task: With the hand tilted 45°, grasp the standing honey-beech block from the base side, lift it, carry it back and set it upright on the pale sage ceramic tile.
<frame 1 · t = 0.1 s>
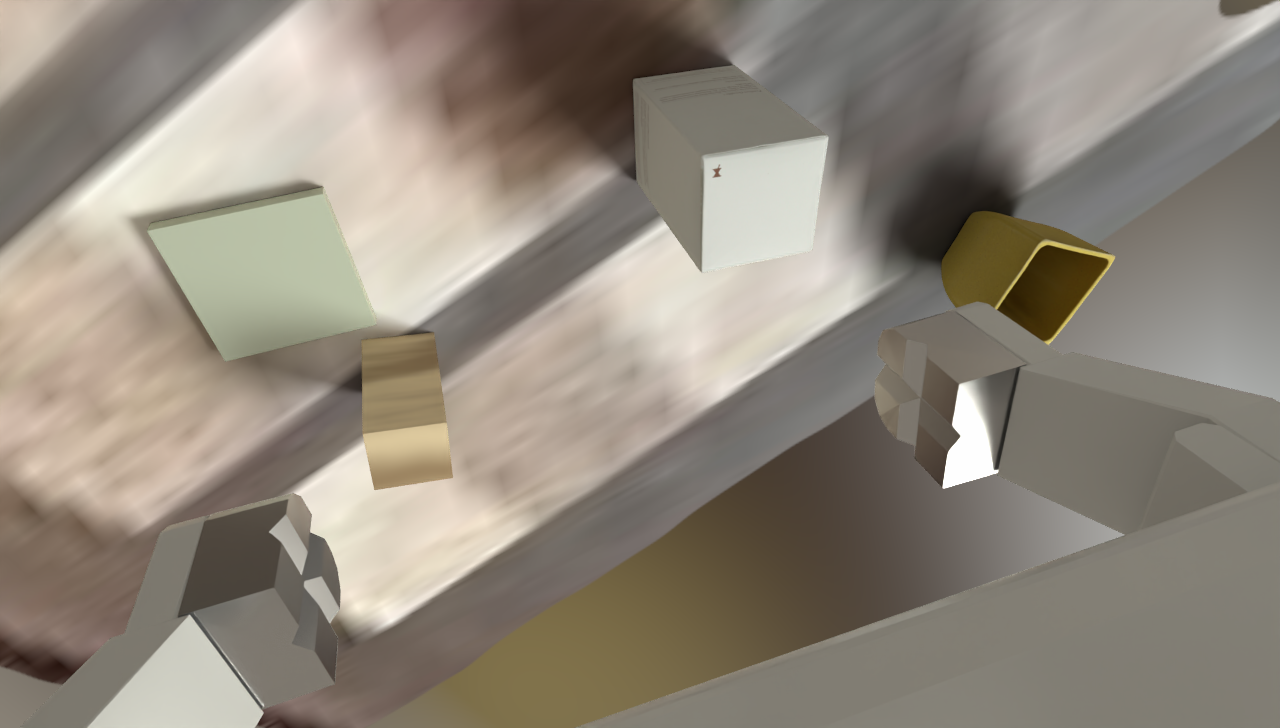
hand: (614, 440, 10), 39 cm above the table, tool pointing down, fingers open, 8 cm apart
beech block: (402, 363, 55), on the table
tile: (272, 274, 48), on the table
supplement box: (683, 124, 50), on the table
flower pot: (973, 241, 64), on the table
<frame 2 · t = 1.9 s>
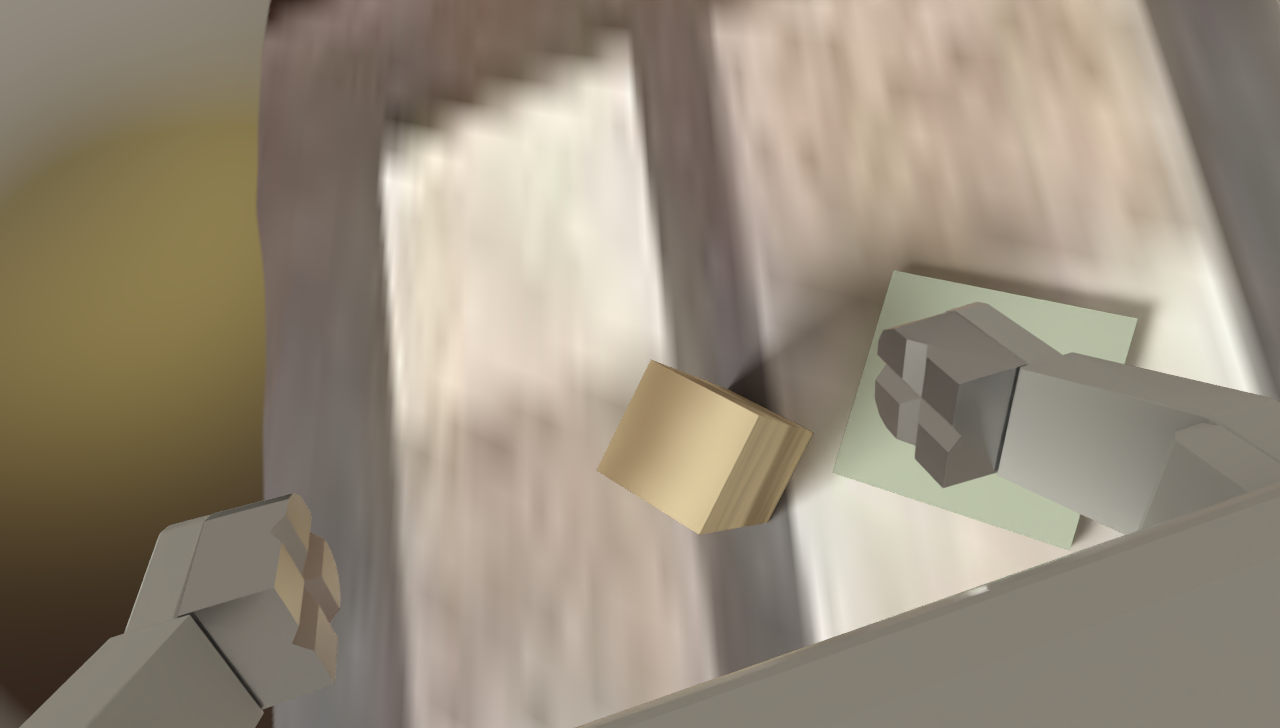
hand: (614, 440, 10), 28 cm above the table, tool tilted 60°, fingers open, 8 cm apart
beech block: (747, 454, 38), on the table
tile: (975, 402, 33), on the table
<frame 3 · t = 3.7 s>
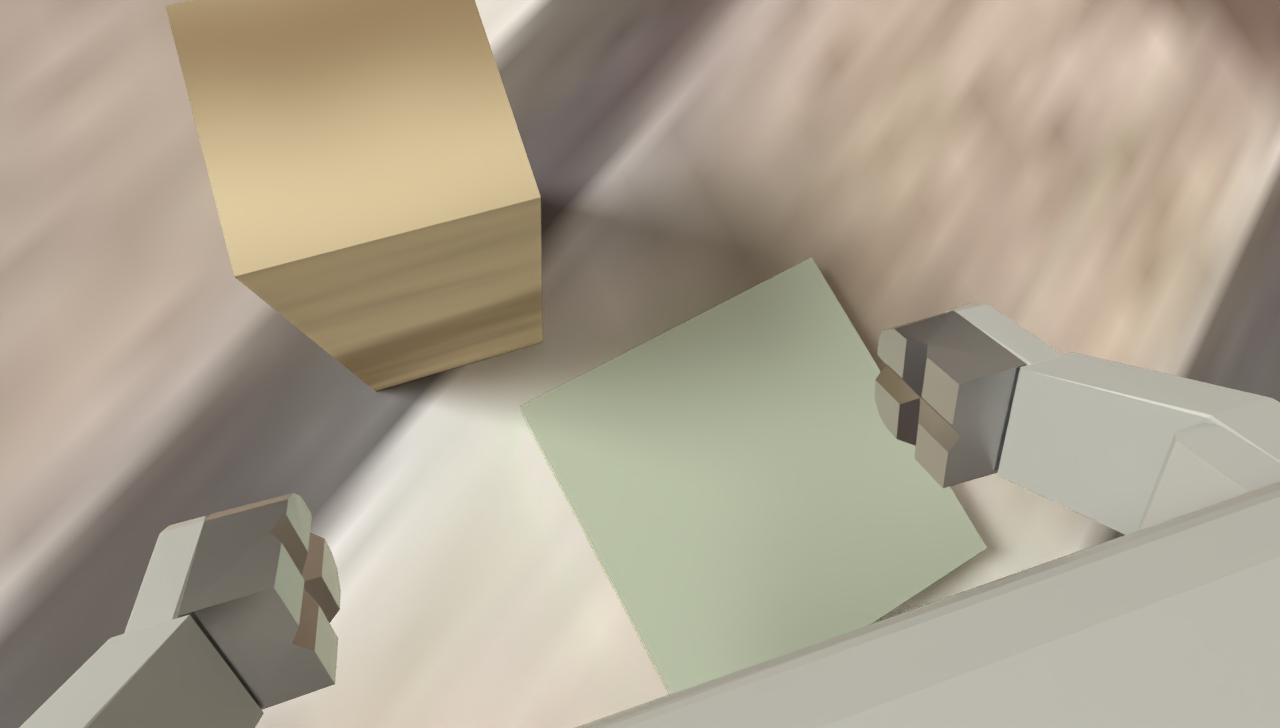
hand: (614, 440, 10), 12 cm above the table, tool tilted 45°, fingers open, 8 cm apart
beech block: (437, 288, 22), on the table
tile: (748, 480, 22), on the table
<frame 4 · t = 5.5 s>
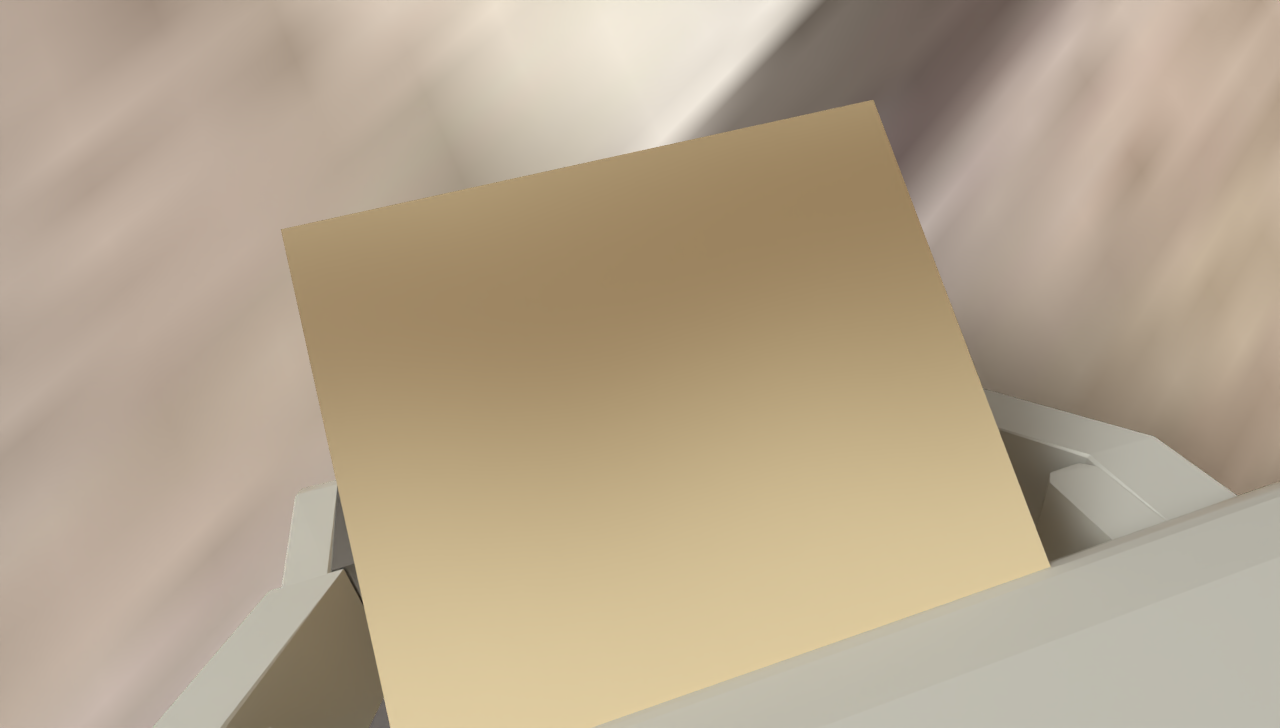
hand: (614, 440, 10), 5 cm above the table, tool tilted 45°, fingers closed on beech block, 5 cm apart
beech block: (603, 496, 15), on the table, touching gripper
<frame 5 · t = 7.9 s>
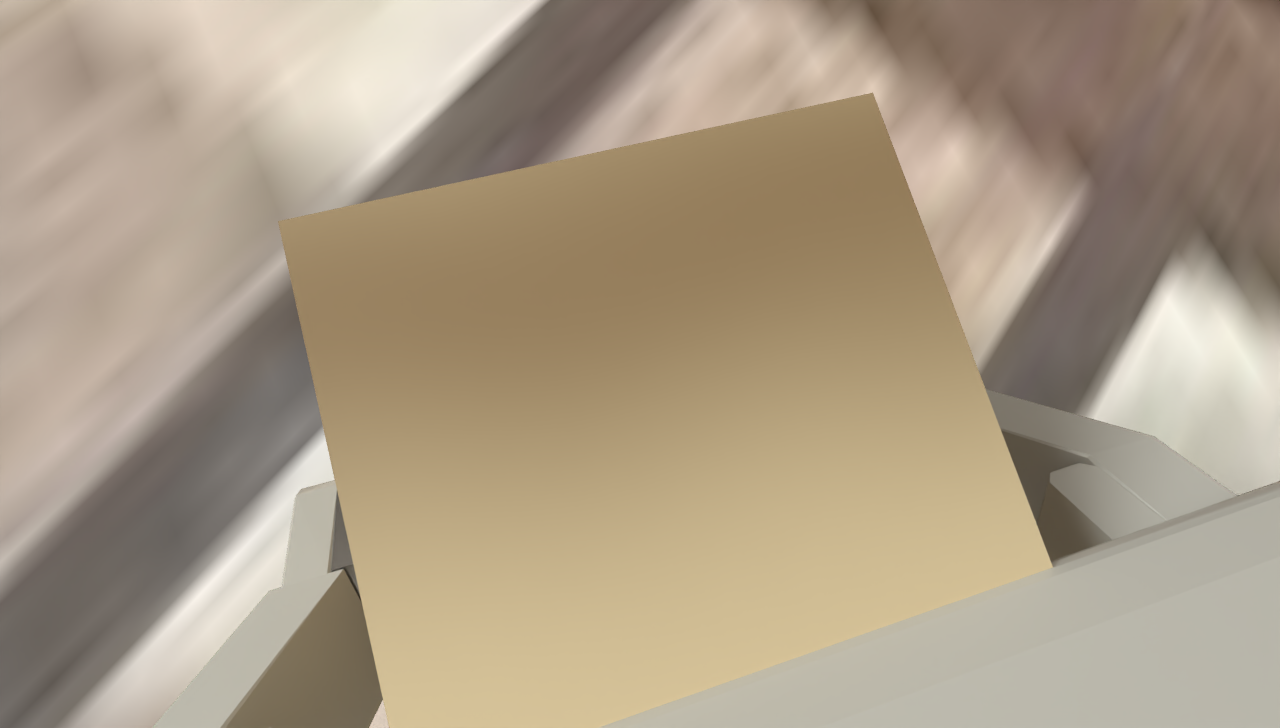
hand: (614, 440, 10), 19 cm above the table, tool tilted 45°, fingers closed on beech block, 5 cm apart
beech block: (602, 494, 15), point 13 cm above the table, touching gripper
when the fingers open (7 cm above the table, at t = 10.3 s): beech block drops 1 cm, resting on tile.
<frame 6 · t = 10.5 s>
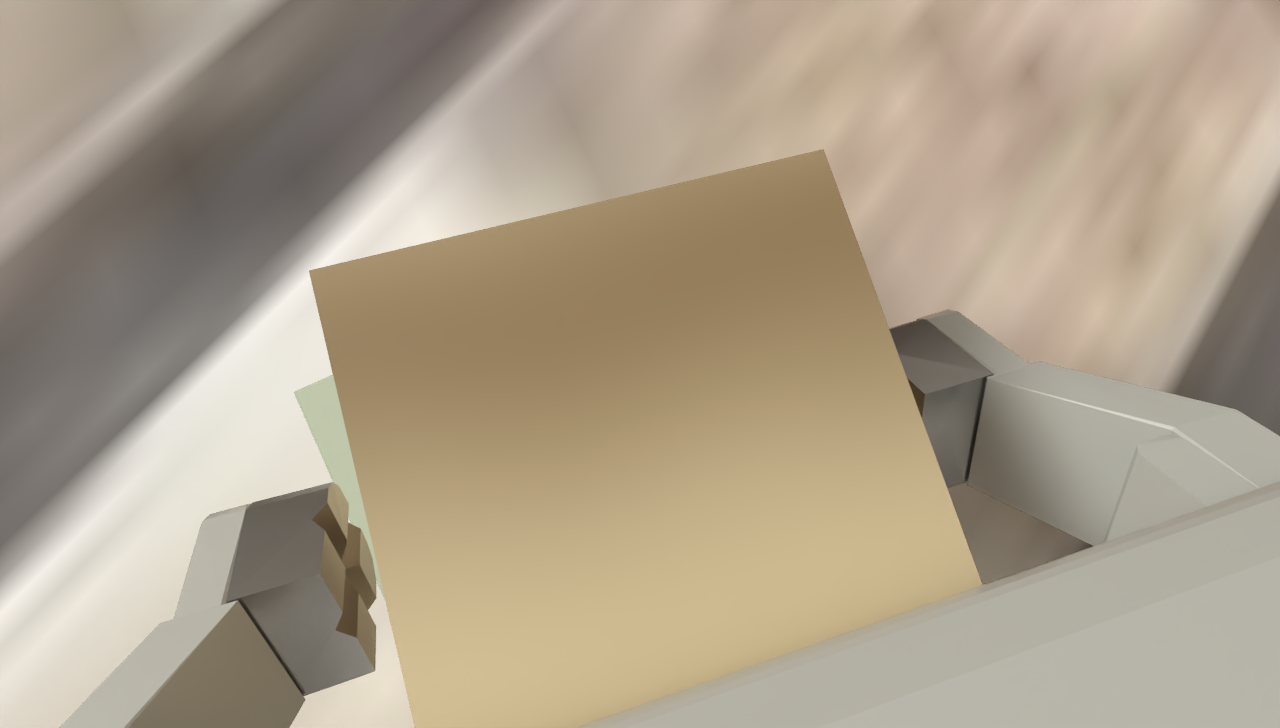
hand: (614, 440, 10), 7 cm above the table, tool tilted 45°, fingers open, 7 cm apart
beech block: (598, 494, 16), point 1 cm above the table, touching tile
tile: (599, 496, 17), on the table
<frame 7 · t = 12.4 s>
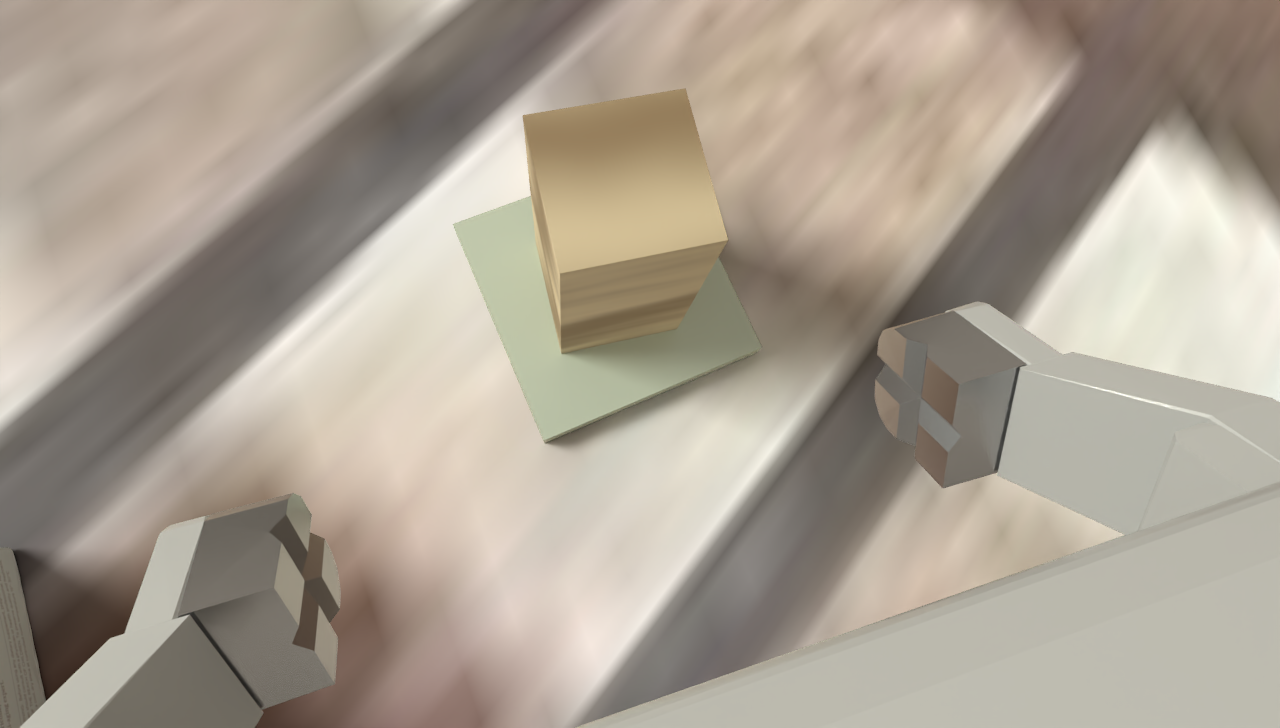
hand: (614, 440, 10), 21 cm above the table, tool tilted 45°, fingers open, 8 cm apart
beech block: (606, 285, 31), point 1 cm above the table, touching tile
tile: (606, 293, 32), on the table
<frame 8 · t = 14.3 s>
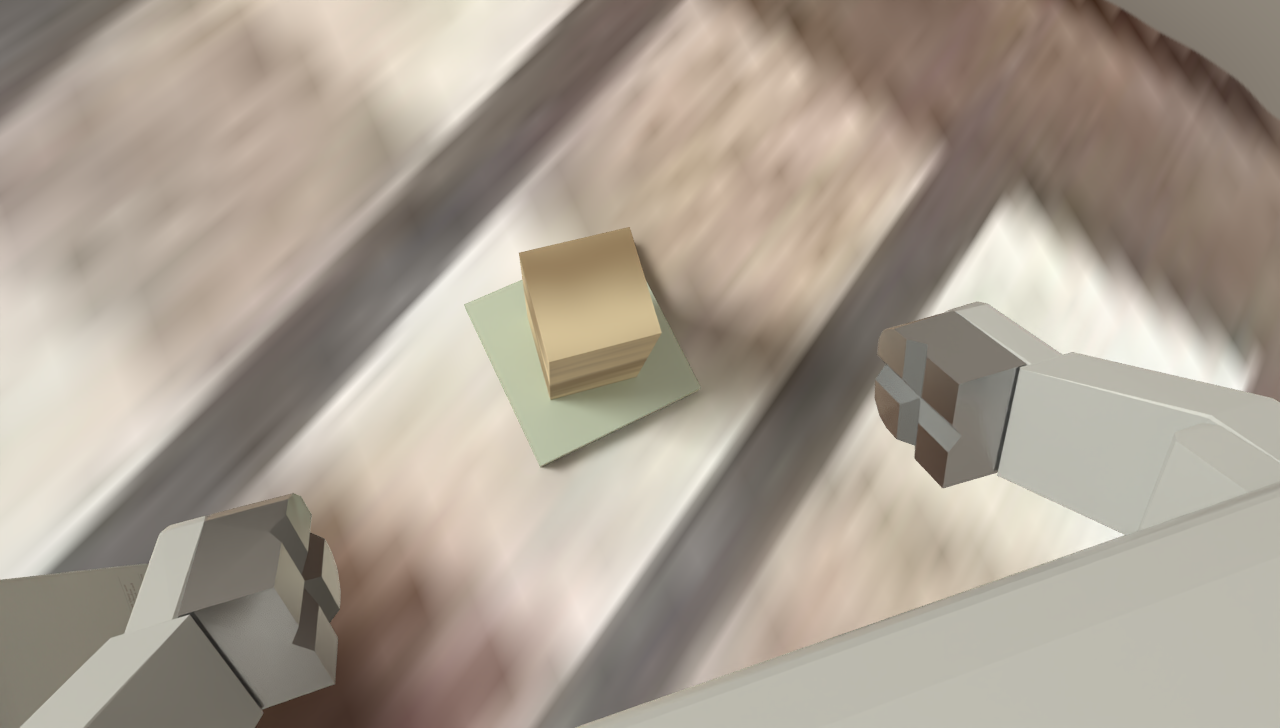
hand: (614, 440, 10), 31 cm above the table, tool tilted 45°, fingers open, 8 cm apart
beech block: (581, 346, 41), point 1 cm above the table, touching tile
tile: (582, 350, 42), on the table
supplement box: (100, 659, 37), on the table
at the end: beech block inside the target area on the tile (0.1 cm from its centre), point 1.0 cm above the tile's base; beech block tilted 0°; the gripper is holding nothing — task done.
